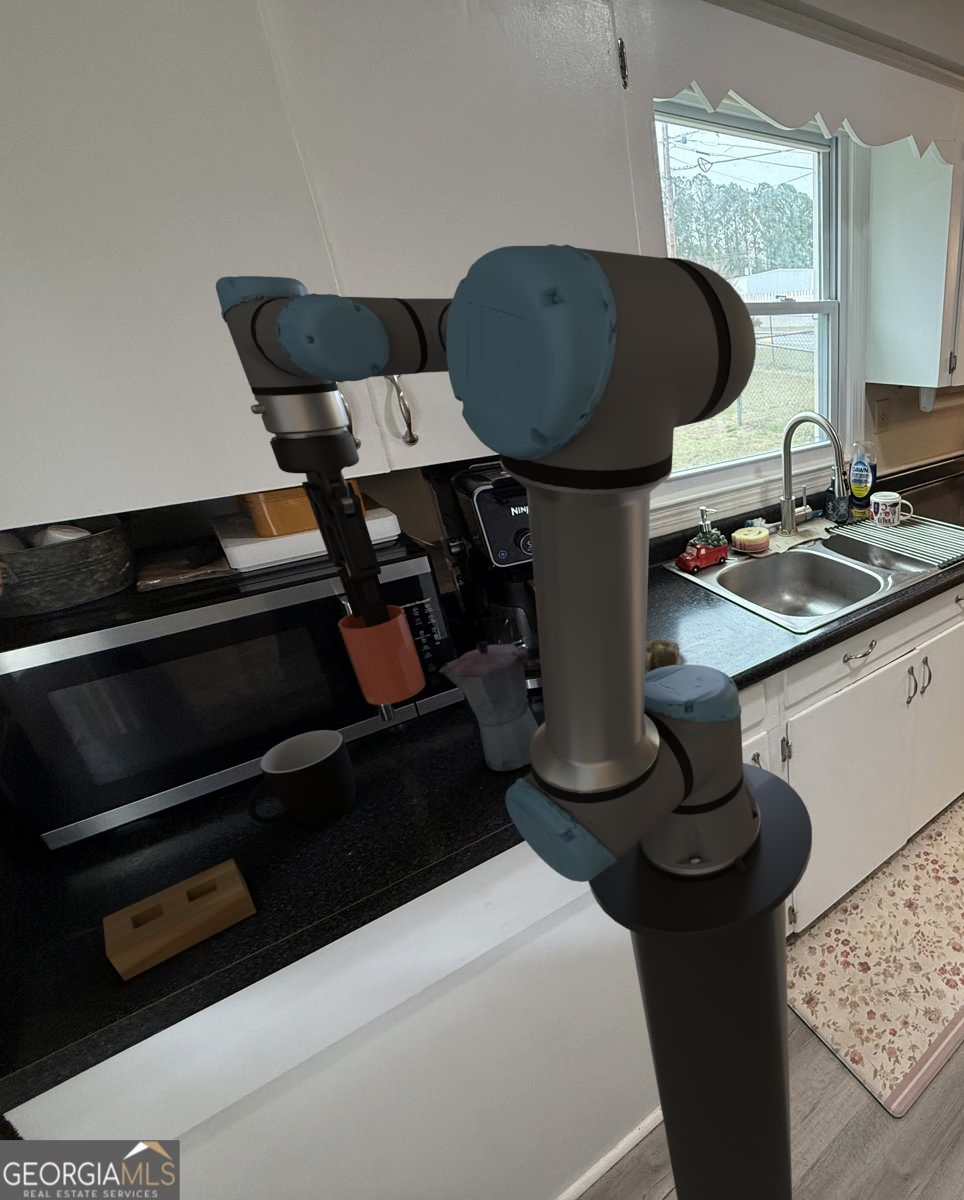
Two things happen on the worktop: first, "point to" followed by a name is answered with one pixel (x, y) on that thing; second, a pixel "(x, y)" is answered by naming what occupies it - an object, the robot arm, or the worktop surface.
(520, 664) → the moka pot
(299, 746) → the mug
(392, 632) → the cup
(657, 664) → the cake
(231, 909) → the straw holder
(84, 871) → the worktop surface
